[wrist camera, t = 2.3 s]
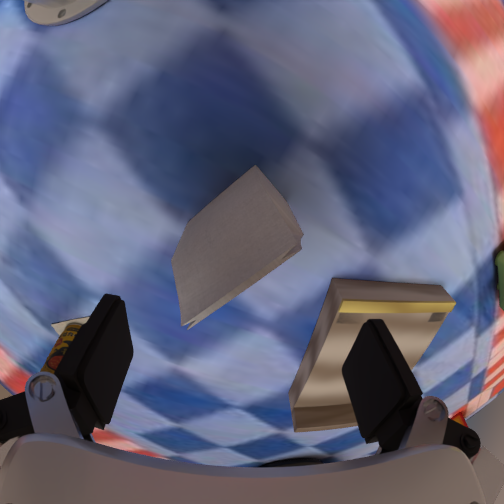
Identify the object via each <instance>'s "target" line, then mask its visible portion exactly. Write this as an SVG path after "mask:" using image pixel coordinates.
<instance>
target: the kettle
mask: <svg viewBox="0 0 504 504" xmlns="http://www.w3.org/2000/svg"><path fill="white" fill-rule="evenodd" d="M495 265H496V266H498V277H499V282H498V284H497V290H499V303H500V307H501V308H502V309H503V311H504V251H503V250H502V251H500V252H499V253H498V254H497V256H496V259H495Z"/></svg>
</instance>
